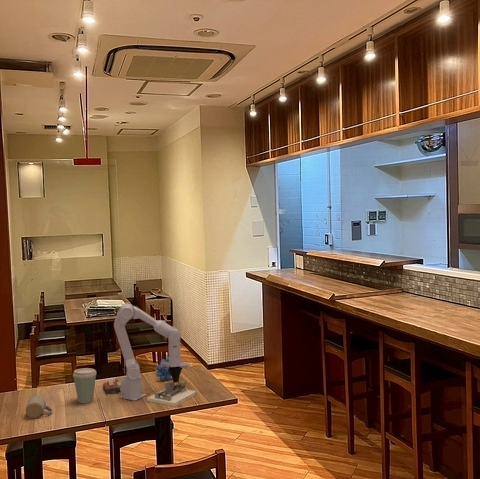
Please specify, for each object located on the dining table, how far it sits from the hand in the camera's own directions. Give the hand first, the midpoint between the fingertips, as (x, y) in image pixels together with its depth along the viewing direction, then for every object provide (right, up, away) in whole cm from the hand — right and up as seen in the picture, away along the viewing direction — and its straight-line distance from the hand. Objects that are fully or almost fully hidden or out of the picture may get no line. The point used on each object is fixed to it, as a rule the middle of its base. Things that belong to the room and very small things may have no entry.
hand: (176, 382), depth 246 cm
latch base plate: (-1, -5, -7) cm, 9 cm away
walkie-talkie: (-33, -6, +10) cm, 35 cm away
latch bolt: (+2, 0, -2) cm, 3 cm away
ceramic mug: (-57, -9, -22) cm, 62 cm away
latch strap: (-1, -3, -7) cm, 7 cm away
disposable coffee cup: (-41, -7, -7) cm, 42 cm away
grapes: (-7, -5, +20) cm, 22 cm away
